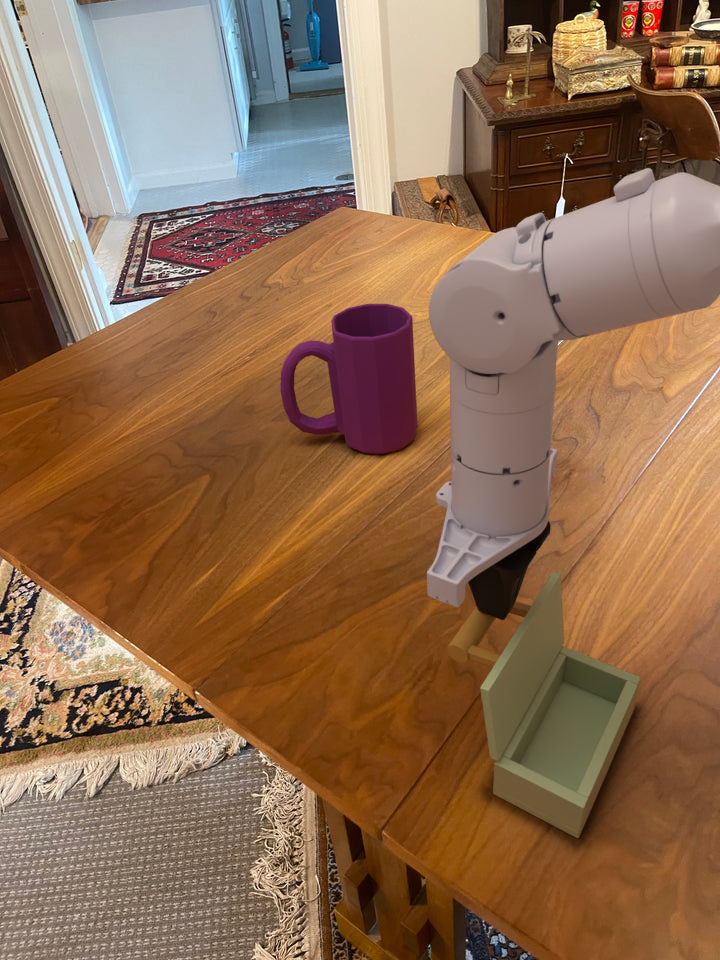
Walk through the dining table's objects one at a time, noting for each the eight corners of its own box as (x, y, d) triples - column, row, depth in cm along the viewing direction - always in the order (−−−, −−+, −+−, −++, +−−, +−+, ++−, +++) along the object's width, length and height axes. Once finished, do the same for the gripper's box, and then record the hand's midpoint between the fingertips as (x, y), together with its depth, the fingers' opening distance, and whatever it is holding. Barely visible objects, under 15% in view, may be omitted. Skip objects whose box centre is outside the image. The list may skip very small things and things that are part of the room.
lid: (561, 573, 52) (501, 558, 54) (488, 690, 45) (423, 666, 47) (564, 642, 56) (508, 625, 58) (498, 761, 48) (437, 735, 51)
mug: (423, 452, 85) (418, 333, 76) (289, 467, 85) (268, 350, 76) (412, 411, 92) (406, 298, 83) (289, 425, 92) (270, 313, 83)
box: (634, 709, 55) (641, 676, 53) (578, 839, 48) (583, 808, 46) (556, 676, 58) (560, 644, 56) (492, 794, 51) (493, 762, 49)
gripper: (491, 376, 49) (487, 530, 57) (375, 495, 40) (390, 658, 48) (595, 399, 46) (575, 559, 54) (494, 535, 36) (489, 704, 45)
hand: (494, 609), depth 51 cm, fingers closed
